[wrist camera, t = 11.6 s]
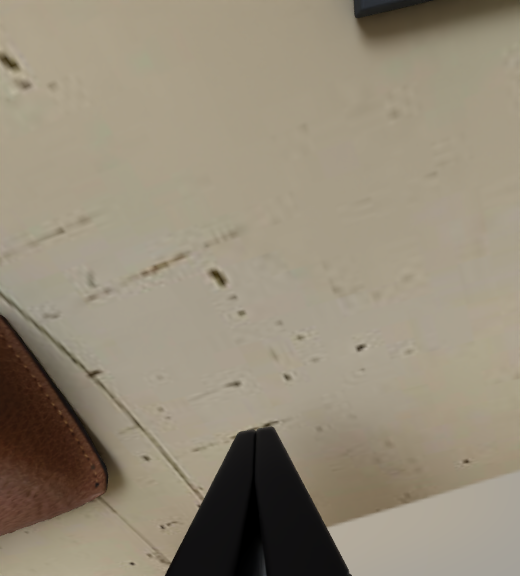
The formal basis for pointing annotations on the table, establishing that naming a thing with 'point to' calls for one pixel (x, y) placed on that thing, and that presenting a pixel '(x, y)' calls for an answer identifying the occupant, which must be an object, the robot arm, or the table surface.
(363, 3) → the shoe mat
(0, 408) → the sunglasses case
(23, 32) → the table surface
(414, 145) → the table surface
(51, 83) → the table surface
